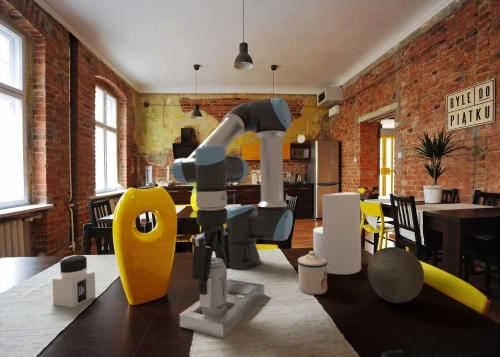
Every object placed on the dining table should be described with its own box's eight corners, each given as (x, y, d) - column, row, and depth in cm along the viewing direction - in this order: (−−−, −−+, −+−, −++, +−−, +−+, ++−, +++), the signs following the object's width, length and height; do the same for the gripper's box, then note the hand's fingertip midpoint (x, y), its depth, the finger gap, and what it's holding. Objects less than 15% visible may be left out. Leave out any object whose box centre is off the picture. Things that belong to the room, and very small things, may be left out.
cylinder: (369, 266, 107) (368, 192, 106) (344, 278, 95) (343, 196, 95) (330, 256, 120) (329, 191, 119) (304, 266, 109) (303, 193, 108)
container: (96, 296, 85) (94, 254, 85) (72, 308, 78) (71, 262, 78) (77, 293, 88) (75, 252, 87) (52, 305, 80) (51, 259, 80)
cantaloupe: (360, 291, 84) (359, 242, 84) (408, 291, 84) (408, 241, 83) (379, 315, 70) (378, 256, 70) (437, 316, 69) (436, 255, 69)
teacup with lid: (328, 296, 82) (327, 256, 81) (297, 294, 84) (296, 255, 84) (327, 281, 93) (326, 246, 93) (299, 279, 95) (298, 245, 95)
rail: (229, 288, 89) (229, 279, 89) (264, 294, 84) (264, 284, 84) (179, 326, 67) (179, 314, 67) (223, 338, 62) (222, 324, 62)
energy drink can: (223, 327, 67) (222, 264, 67) (199, 325, 68) (198, 263, 68) (229, 314, 73) (228, 257, 73) (207, 313, 74) (205, 256, 74)
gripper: (201, 214, 59) (204, 322, 60) (243, 204, 77) (245, 287, 77) (173, 212, 62) (176, 315, 63) (219, 203, 80) (221, 283, 81)
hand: (214, 299), depth 70 cm, fingers open, 7 cm apart
